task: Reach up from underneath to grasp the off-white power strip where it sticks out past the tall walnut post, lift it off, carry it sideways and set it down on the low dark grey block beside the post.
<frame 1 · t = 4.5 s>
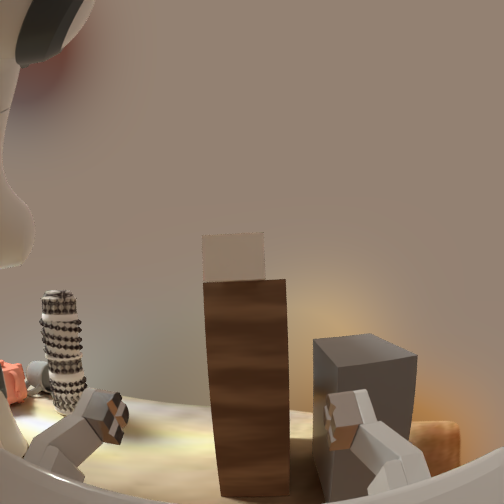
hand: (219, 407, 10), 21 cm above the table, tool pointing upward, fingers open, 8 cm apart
dark grey block: (349, 474, 29), on the table
walnut post: (256, 463, 35), on the table
teapot: (5, 402, 42), on the table
power strip: (245, 281, 32), point 26 cm above the table, touching walnut post
ceramic mug: (42, 392, 54), on the table
decorative candle: (73, 409, 49), on the table
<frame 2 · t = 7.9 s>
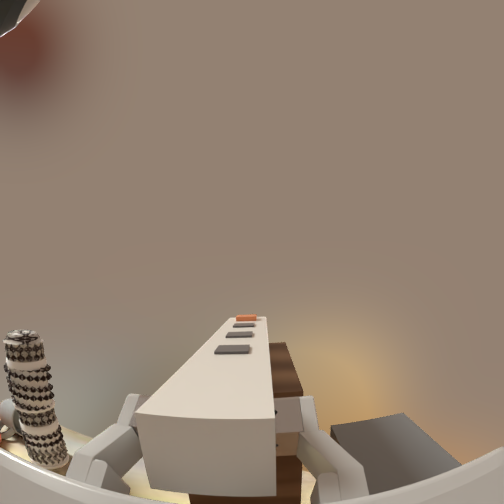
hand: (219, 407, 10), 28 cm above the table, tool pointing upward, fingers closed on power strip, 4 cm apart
power strip: (240, 379, 20), point 26 cm above the table, touching gripper, walnut post
ceramic mug: (17, 433, 41), on the table
decorative candle: (50, 459, 36), on the table
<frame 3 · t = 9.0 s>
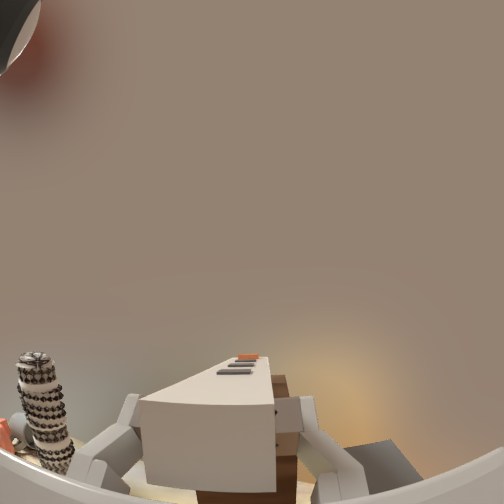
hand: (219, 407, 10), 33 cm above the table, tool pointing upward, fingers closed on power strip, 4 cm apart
power strip: (241, 407, 19), point 29 cm above the table, tilted 11°, touching gripper
ceramic mug: (28, 445, 43), on the table
decorative candle: (62, 471, 38), on the table
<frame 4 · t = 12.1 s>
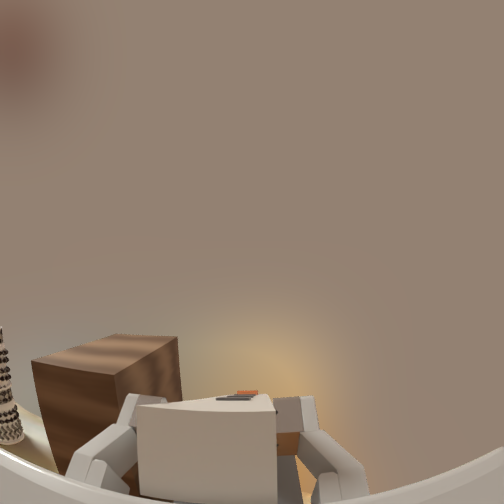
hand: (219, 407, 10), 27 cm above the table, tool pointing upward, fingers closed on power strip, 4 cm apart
power strip: (240, 438, 18), point 21 cm above the table, tilted 20°, touching gripper
decorative candle: (8, 436, 36), on the table
when the fingers open (22 cm above the table, at t = 13.4 s): power strip stays where it is, resting on dark grey block.
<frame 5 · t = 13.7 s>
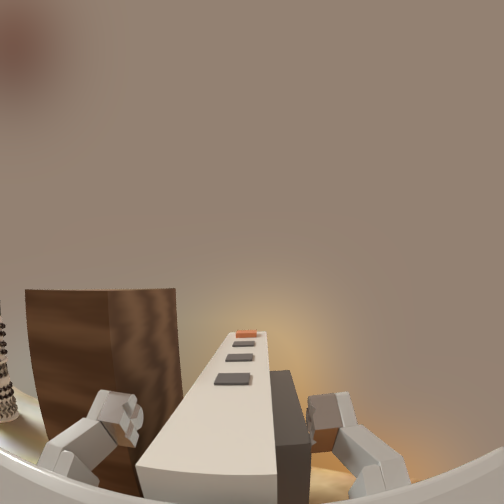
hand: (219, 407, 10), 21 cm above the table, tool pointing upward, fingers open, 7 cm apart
power strip: (240, 402, 19), point 18 cm above the table, touching dark grey block
decorative candle: (2, 415, 37), on the table
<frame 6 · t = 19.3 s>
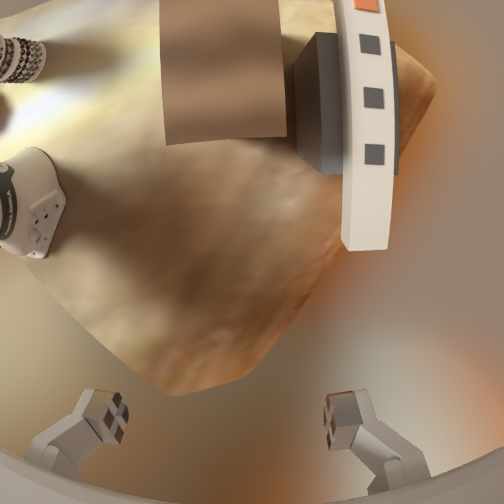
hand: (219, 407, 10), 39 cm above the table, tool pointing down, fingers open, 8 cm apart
dark grey block: (322, 109, 41), on the table
walnut post: (239, 79, 39), on the table
power strip: (362, 109, 25), point 18 cm above the table, touching dark grey block
decorative candle: (31, 62, 36), on the table
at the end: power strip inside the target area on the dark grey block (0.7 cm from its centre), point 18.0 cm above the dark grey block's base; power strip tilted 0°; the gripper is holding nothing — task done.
